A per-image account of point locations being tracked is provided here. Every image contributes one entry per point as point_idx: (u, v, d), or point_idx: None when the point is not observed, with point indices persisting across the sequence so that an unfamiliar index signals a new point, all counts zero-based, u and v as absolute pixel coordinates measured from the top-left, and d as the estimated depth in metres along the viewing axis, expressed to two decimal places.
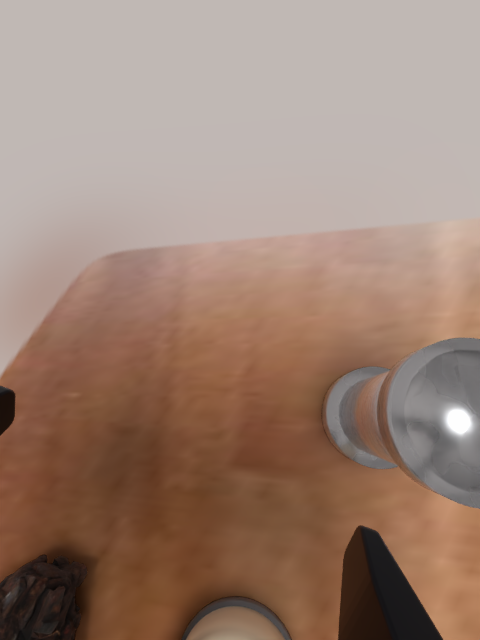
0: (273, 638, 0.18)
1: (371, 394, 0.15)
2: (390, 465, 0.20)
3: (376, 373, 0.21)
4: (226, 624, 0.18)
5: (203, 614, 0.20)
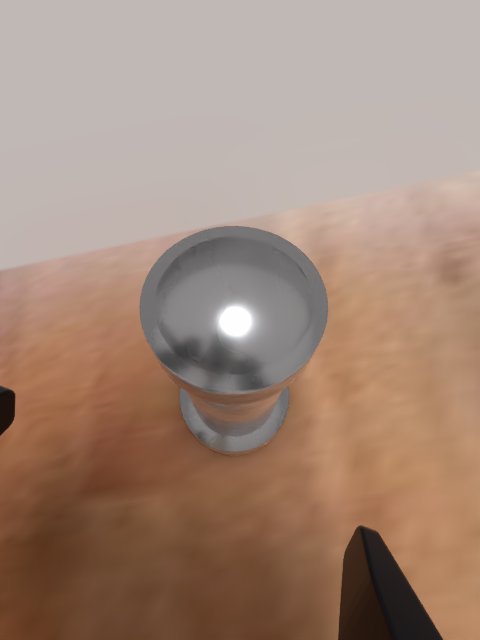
0: None
1: None
2: (255, 444, 0.18)
3: None
4: None
5: None
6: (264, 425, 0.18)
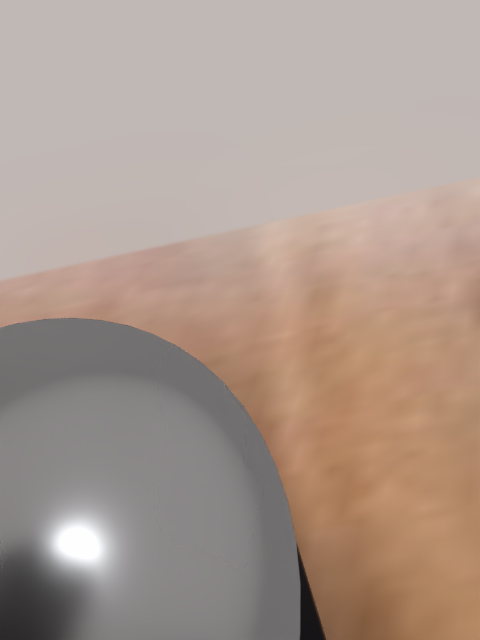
0: None
1: None
2: None
3: None
4: None
5: None
6: None
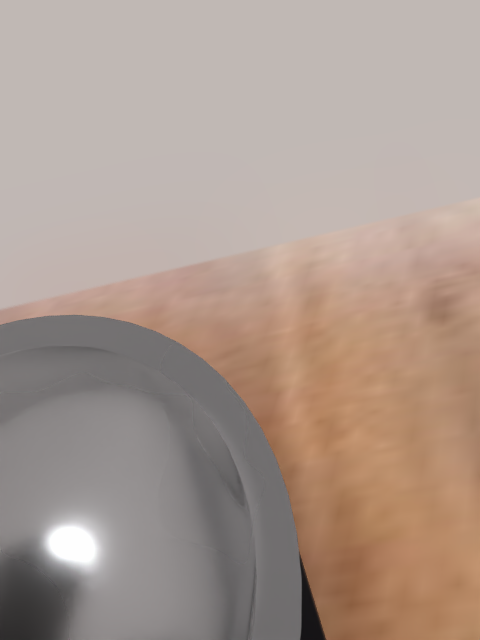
0: None
1: None
2: None
3: None
4: None
5: None
6: None
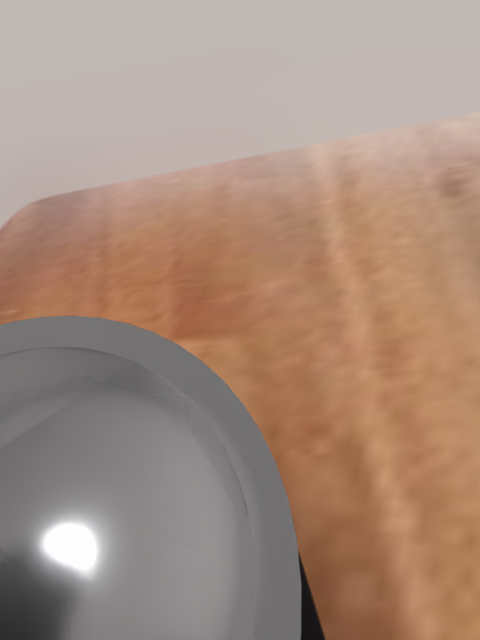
0: None
1: None
2: None
3: None
4: None
5: None
6: None
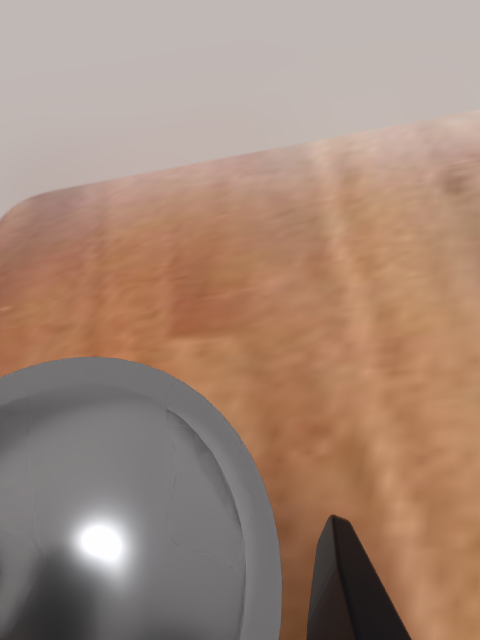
0: None
1: None
2: None
3: None
4: None
5: None
6: None
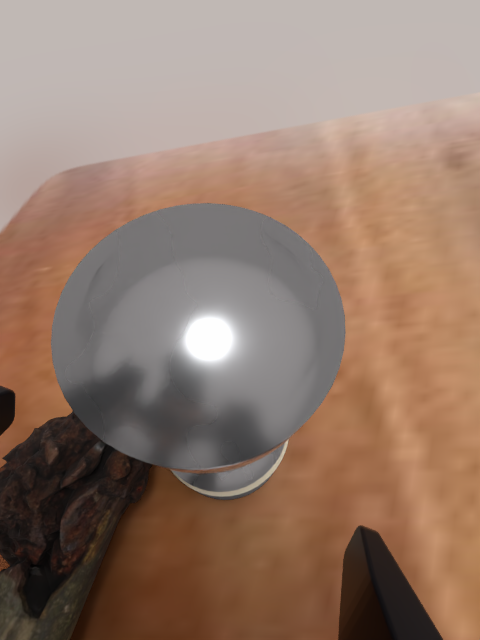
0: None
1: None
2: (246, 482, 0.14)
3: None
4: None
5: None
6: None
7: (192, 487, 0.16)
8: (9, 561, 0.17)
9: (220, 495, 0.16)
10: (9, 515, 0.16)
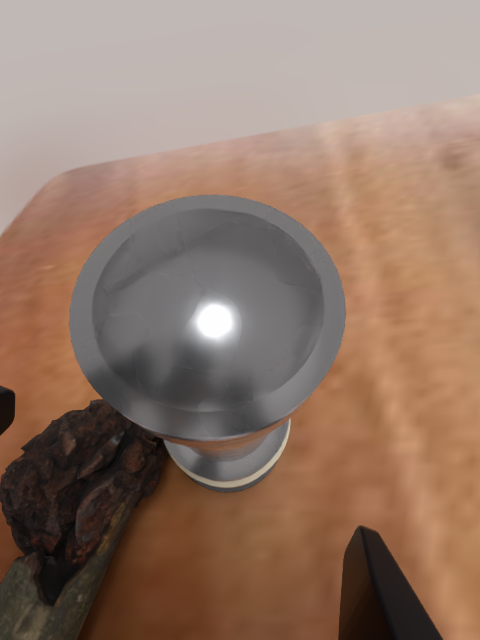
0: None
1: None
2: (248, 471, 0.15)
3: None
4: None
5: None
6: (259, 448, 0.15)
7: (195, 477, 0.16)
8: (23, 550, 0.17)
9: (223, 485, 0.16)
10: (26, 504, 0.16)
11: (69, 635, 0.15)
